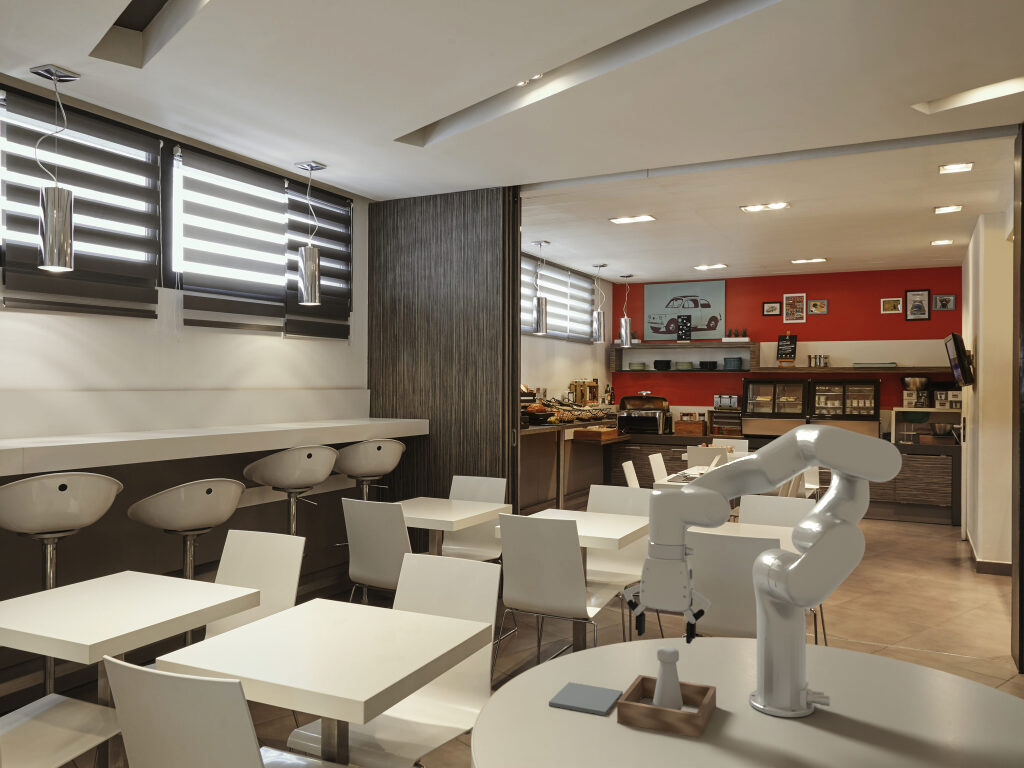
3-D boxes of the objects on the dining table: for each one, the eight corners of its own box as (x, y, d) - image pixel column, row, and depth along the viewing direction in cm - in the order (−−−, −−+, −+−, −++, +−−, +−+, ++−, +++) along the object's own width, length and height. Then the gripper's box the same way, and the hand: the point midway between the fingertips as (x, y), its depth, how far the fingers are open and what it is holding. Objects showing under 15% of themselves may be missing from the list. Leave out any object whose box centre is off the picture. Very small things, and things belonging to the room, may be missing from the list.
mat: (622, 694, 164) (622, 690, 164) (605, 715, 154) (605, 711, 154) (569, 685, 169) (569, 682, 169) (548, 705, 158) (548, 701, 158)
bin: (716, 706, 158) (716, 686, 159) (701, 737, 144) (701, 715, 144) (639, 693, 165) (639, 674, 165) (617, 722, 150) (617, 701, 151)
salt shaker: (682, 721, 151) (683, 654, 151) (652, 719, 152) (653, 652, 152) (682, 709, 157) (682, 644, 157) (653, 707, 158) (653, 642, 158)
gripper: (714, 553, 155) (712, 639, 154) (630, 544, 162) (627, 626, 162) (707, 559, 148) (705, 650, 148) (619, 549, 155) (617, 636, 155)
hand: (665, 638), depth 155 cm, fingers open, 9 cm apart
